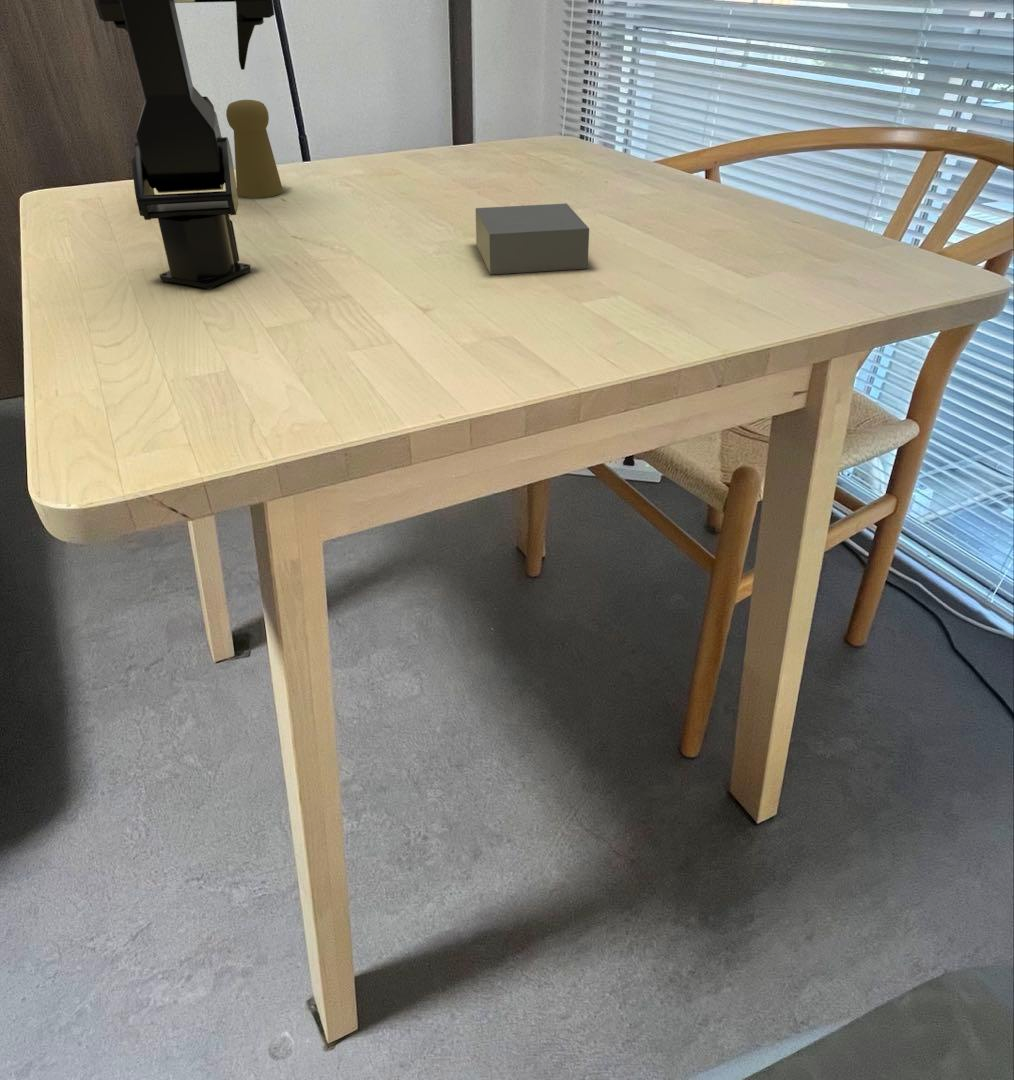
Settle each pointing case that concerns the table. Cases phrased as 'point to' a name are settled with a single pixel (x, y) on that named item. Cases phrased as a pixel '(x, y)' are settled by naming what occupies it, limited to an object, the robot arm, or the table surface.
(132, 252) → the table surface
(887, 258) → the table surface
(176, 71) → the robot arm
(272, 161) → the olive brown pawn
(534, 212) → the grey block
